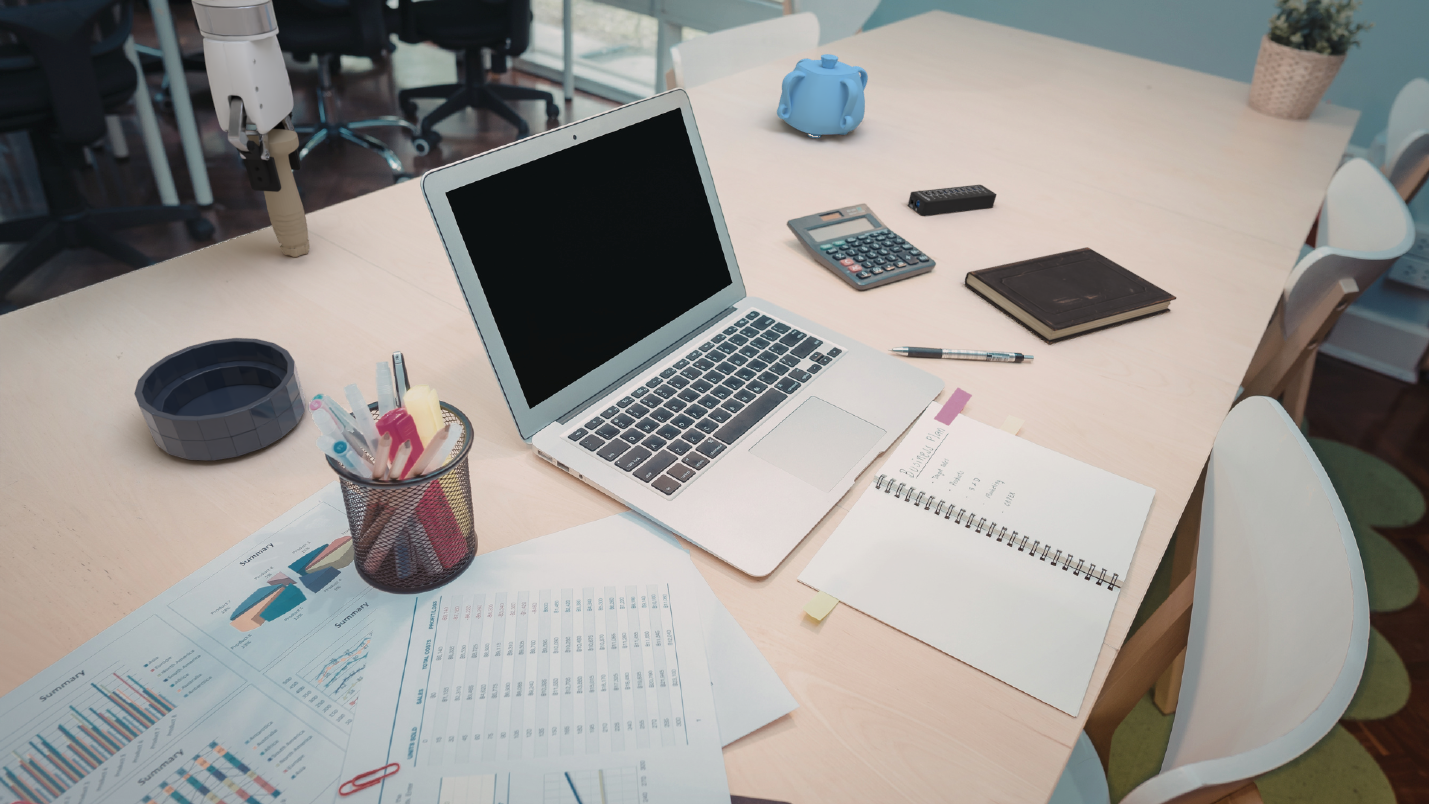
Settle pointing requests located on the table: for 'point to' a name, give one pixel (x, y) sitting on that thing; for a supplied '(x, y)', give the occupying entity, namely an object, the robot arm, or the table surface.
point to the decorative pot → (823, 96)
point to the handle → (286, 196)
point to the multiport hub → (951, 200)
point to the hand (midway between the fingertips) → (277, 177)
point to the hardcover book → (1068, 294)
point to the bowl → (221, 398)
